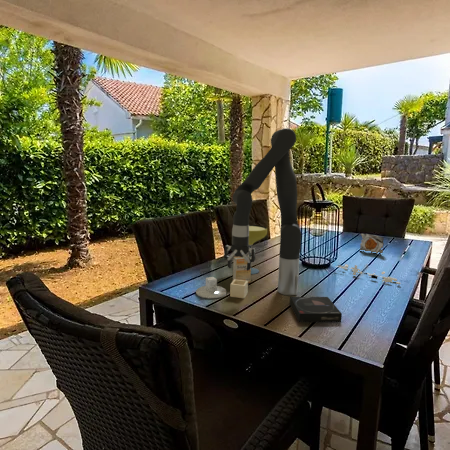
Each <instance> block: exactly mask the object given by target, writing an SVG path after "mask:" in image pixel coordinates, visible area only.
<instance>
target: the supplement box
mask: <svg viewBox="0 0 450 450" xmlns="http://www.w3.org/2000/svg"><path fill="white" fill-rule="evenodd" d="M250 259H252V257H251V258H250ZM232 261H233V262H232V267H233V268H232V281H233V280H234V279H236V280H244V281H248V284H250V283H251V279H252V278H251V277H252V276H251V275H252V274H251V268H252V267H251V268H250V270H249V271H247V263H248V262H247V260H246V259H245V258H244V257H240V256H238V257H237V256H233V260H232Z"/></svg>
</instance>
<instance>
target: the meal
mask: <svg viewBox="0 0 450 450" xmlns="http://www.w3.org/2000/svg"><path fill="white" fill-rule="evenodd" d="M360 236H361V238H362V239H360V241H361V242H360V244H359V245H360V247H359V248H360V249H359V251H360V250H365V251H371V252H376V253H378V252H380V253H383V251H384V246H385V242H384V236H380V235H375V234H370V233H360Z"/></svg>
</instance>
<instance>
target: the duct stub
mask: <svg viewBox="0 0 450 450" xmlns="http://www.w3.org/2000/svg"><path fill="white" fill-rule="evenodd" d="M195 293H196V295H197V296H198V297H200V298H202V299H205V300H206V299H207V300H208V299H209V300H212V299H213V300H215V299H220V298H223V297H225V296H226V294H227V289H226V288H224V287H223V286H219V285H218V280H217V278H216V277H214V276H209V277H205V285H204V286H202V285H201V286H200V287H198V288H197V289H196V290H195Z"/></svg>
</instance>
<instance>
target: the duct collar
mask: <svg viewBox="0 0 450 450" xmlns="http://www.w3.org/2000/svg"><path fill="white" fill-rule="evenodd" d="M229 285H230V291H229V292H230V293H229V295H230V297H231V298H239V299H245V298H246V296H247V295H248V291H249V283H248V281H244V280H236V279H234V280H233V279H232V281H231V283H230V284H229Z"/></svg>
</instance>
